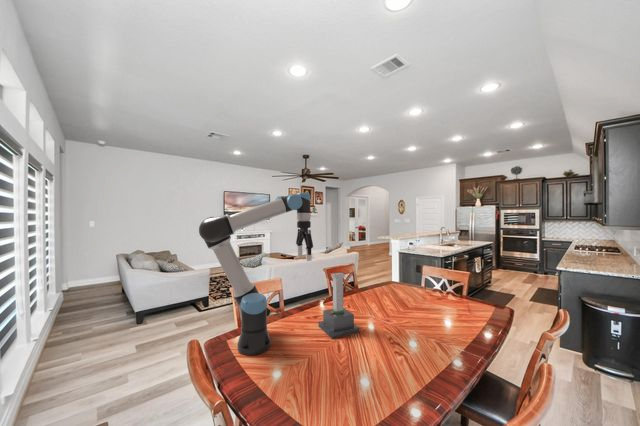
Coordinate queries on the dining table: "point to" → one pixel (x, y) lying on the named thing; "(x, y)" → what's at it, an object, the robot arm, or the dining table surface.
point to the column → (338, 293)
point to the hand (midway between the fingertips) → (304, 258)
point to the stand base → (338, 323)
